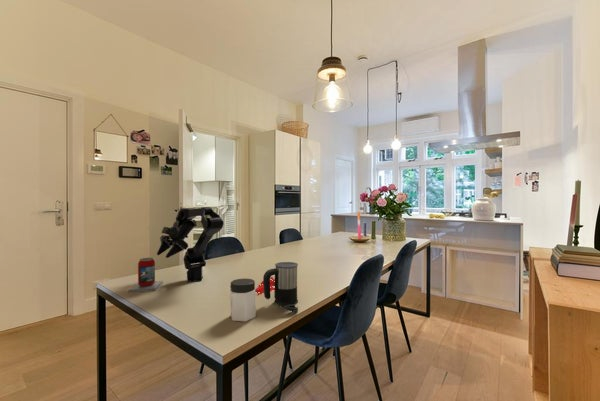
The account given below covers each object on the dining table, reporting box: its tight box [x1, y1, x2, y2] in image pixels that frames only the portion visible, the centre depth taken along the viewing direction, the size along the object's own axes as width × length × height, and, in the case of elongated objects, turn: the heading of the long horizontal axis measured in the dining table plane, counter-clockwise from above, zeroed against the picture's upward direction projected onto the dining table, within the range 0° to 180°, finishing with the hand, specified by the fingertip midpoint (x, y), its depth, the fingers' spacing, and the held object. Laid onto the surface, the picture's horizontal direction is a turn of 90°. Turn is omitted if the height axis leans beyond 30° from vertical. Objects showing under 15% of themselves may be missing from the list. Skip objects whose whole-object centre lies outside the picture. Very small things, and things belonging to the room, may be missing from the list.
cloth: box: [255, 276, 275, 296], centre depth 130 cm, size 26×14×2 cm, turn 160°
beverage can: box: [137, 257, 156, 287], centre depth 130 cm, size 7×7×12 cm
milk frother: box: [262, 261, 299, 313], centre depth 107 cm, size 14×16×15 cm
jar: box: [230, 278, 256, 322], centre depth 97 cm, size 9×8×12 cm
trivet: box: [128, 280, 164, 293], centre depth 130 cm, size 11×11×1 cm
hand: (161, 256), depth 136 cm, fingers open, 9 cm apart
